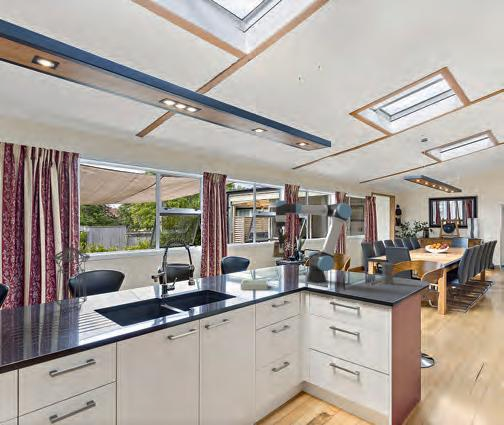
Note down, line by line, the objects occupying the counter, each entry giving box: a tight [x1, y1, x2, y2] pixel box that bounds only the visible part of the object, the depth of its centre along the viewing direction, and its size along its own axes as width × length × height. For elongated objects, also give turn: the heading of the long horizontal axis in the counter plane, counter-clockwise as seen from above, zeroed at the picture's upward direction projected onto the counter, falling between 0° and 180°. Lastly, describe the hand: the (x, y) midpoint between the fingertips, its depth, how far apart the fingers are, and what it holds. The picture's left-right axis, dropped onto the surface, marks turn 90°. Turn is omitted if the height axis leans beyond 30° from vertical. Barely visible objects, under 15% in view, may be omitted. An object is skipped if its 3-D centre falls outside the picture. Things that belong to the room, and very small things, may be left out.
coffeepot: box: [375, 259, 397, 285], centre depth 247 cm, size 15×9×18 cm, turn 44°
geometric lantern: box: [50, 246, 91, 312], centre depth 179 cm, size 16×16×35 cm
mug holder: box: [240, 279, 269, 291], centre depth 234 cm, size 19×14×4 cm
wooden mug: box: [271, 232, 289, 258], centre depth 239 cm, size 9×14×18 cm, turn 123°
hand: (280, 252), depth 238 cm, fingers closed on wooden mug, 7 cm apart
